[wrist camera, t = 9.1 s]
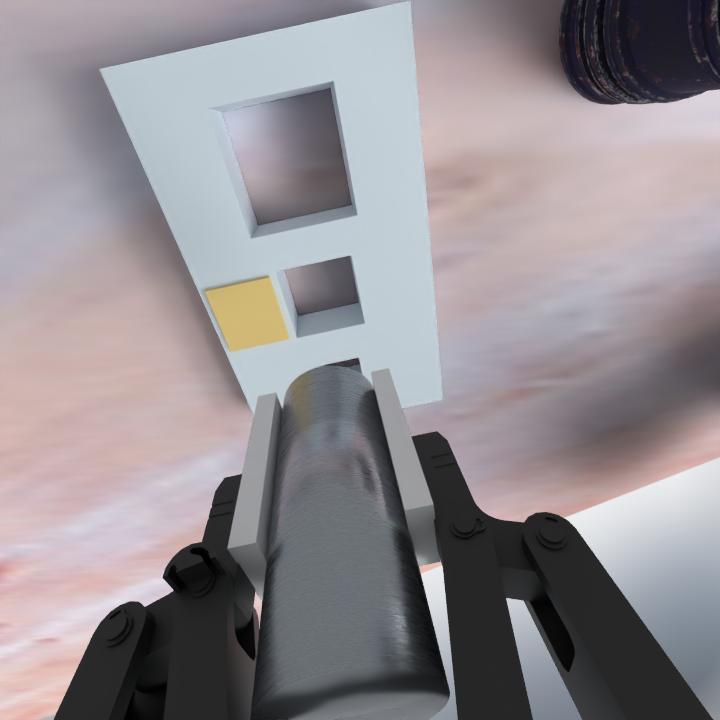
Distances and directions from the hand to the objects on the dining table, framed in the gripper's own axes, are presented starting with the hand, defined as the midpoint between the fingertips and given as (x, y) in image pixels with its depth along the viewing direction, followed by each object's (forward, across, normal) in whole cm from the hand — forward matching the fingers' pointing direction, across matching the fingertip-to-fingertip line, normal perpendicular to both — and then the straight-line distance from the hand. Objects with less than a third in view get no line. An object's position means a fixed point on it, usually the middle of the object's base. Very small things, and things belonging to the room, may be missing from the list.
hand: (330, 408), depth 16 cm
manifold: (+17, 0, -1) cm, 17 cm away
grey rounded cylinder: (0, 0, 0) cm, 0 cm away
